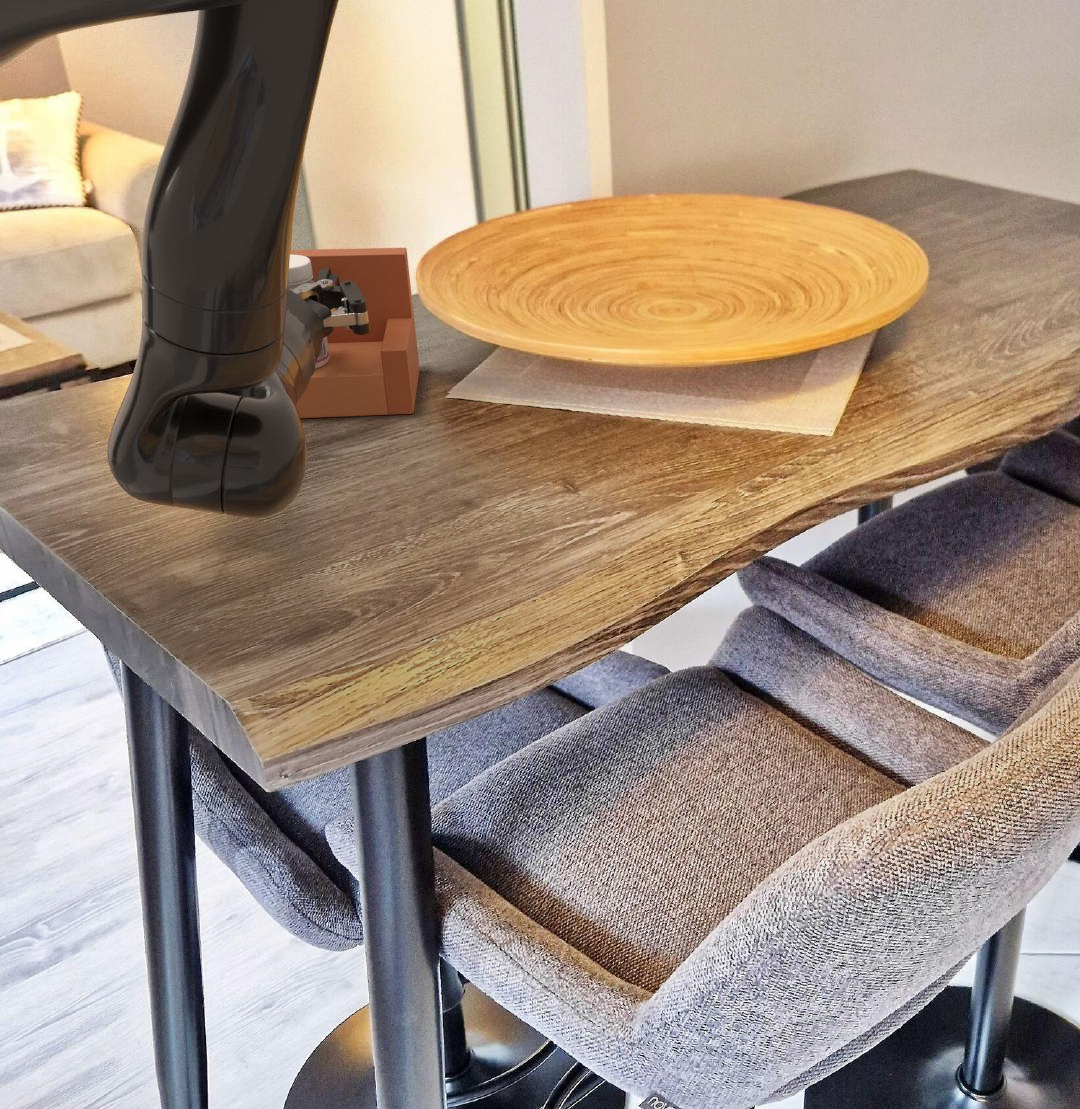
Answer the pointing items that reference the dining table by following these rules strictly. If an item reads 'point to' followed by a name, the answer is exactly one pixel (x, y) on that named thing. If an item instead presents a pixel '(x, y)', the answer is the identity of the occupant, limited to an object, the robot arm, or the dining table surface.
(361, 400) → the couch
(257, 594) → the dining table surface
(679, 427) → the dining table surface
